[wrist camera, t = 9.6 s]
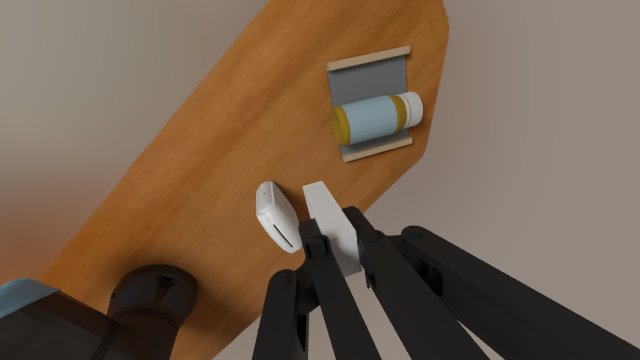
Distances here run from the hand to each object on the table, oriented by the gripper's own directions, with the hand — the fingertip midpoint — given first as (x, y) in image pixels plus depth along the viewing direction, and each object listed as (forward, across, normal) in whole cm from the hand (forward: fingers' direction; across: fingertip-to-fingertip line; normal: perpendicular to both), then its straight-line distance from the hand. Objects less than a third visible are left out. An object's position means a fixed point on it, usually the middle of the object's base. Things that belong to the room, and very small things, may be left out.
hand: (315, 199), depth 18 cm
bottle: (+24, +9, -1) cm, 26 cm away
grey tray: (+28, +18, 0) cm, 34 cm away
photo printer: (+29, -4, -14) cm, 32 cm away
